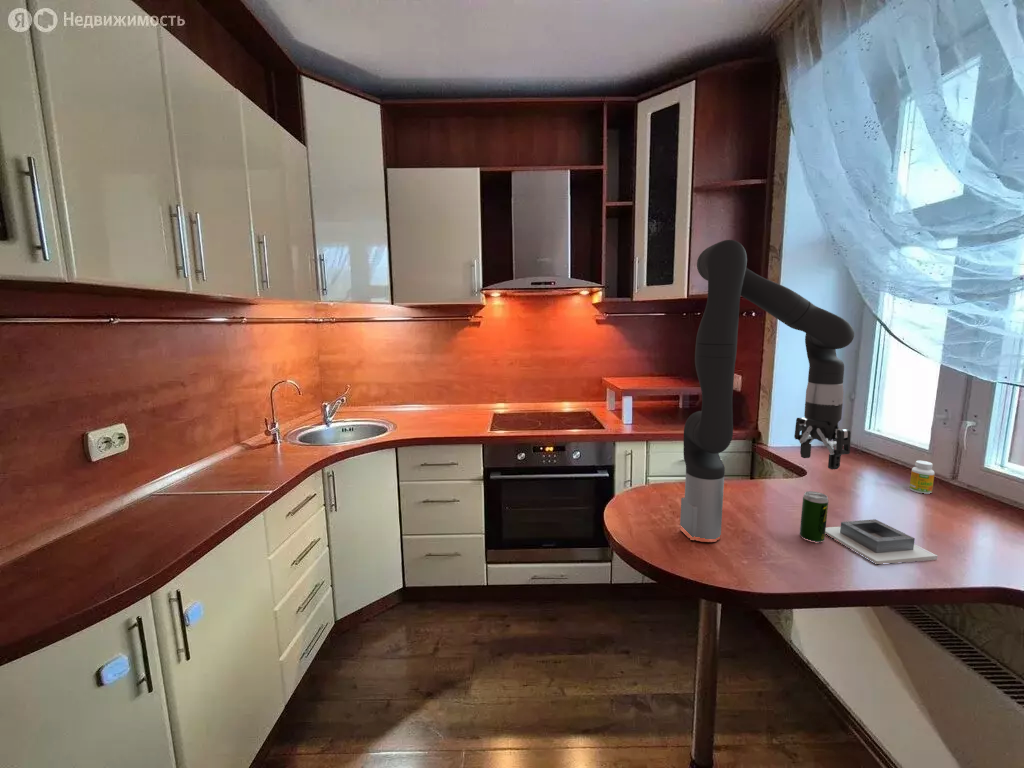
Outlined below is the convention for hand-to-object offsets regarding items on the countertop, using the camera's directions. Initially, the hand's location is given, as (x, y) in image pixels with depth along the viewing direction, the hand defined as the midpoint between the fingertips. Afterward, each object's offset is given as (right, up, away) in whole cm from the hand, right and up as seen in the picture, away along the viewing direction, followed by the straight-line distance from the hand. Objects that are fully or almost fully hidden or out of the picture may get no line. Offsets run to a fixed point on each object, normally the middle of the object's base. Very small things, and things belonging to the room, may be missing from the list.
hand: (818, 463), depth 109 cm
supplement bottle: (+55, -15, +31) cm, 65 cm away
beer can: (0, -21, +3) cm, 21 cm away
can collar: (+14, -21, 0) cm, 25 cm away
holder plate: (+14, -21, 0) cm, 25 cm away
